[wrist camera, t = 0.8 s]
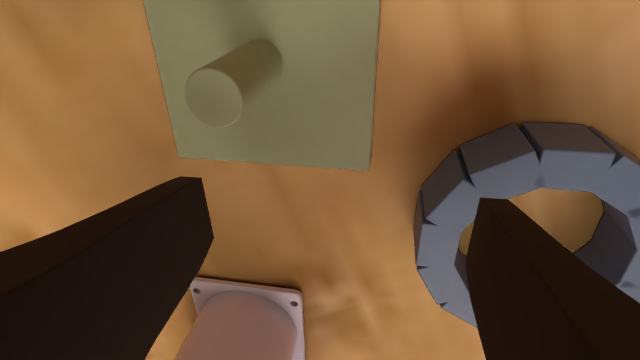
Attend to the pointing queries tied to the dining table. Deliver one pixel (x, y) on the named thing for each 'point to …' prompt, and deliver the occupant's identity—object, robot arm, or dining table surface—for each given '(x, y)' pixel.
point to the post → (269, 79)
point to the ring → (521, 177)
